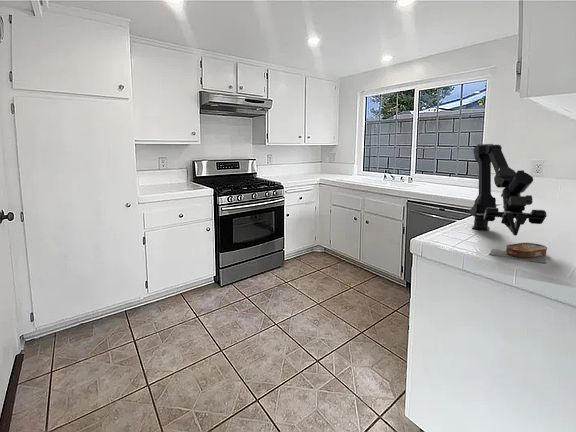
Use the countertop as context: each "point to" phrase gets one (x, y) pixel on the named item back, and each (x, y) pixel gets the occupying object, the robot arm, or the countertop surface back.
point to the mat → (503, 254)
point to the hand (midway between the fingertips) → (515, 234)
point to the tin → (526, 250)
